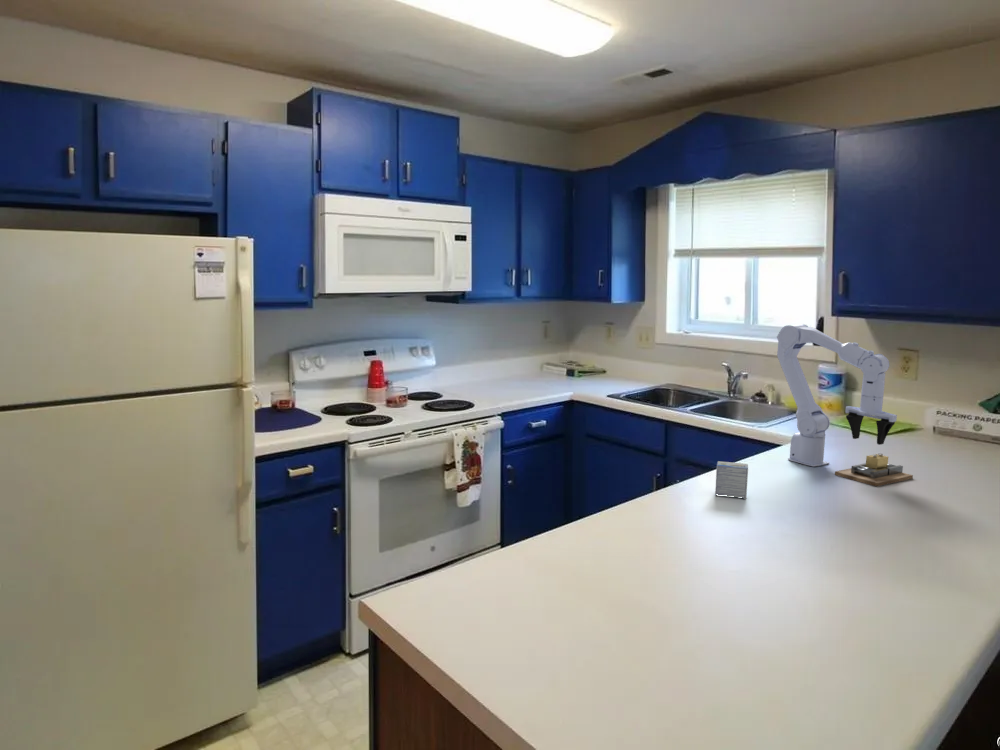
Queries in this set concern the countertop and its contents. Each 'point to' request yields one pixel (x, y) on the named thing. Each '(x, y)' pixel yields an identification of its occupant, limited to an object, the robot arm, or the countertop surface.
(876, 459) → the brass block with studs
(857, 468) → the chain end
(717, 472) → the medicine box
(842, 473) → the chain board
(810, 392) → the robot arm
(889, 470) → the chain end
